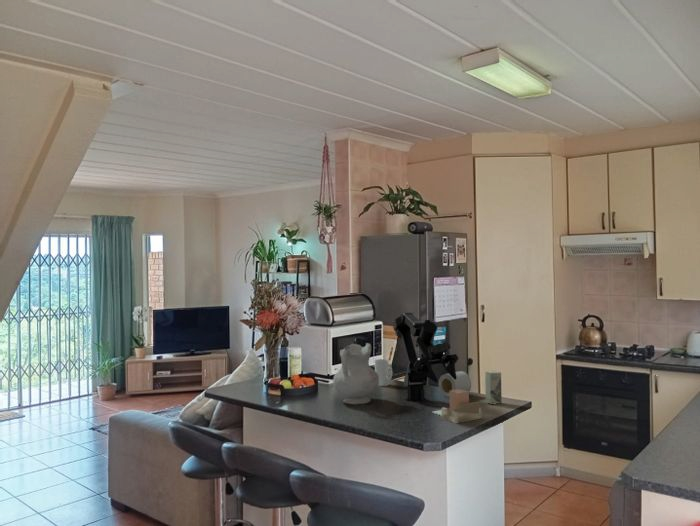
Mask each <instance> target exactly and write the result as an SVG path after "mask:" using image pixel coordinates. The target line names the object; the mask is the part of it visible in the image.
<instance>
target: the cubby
mask: <svg viewBox="0 0 700 526" xmlns="http://www.w3.org/2000/svg"><path fill="white" fill-rule="evenodd" d="M441 410H442V416H441V419H442V420H444V419H446V420H445V421H447V420H449V421H448V422H450V421H452V422H451V423H453V422H454V424H460V423H459V422H461V423H465V421H466V422H469V421H475V420H480V419H482V402H481V401H479V400H478V401H474V402H469V403H468V404H462V405H457V406H454V410H450V408H447V407H441Z"/></svg>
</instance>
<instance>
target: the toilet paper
mask: <svg viewBox="0 0 700 526" xmlns="http://www.w3.org/2000/svg"><path fill="white" fill-rule="evenodd" d="M455 372H456V377H457V378H456V380H455V379H454V378H452V376H451V375H450V374H449V373H445V374H444V373H443V374H442V375H440V376H439V378H438V382H437V383H438V384H437V385H438V390H439V392H440V394H441V395H442V396H443V395H444V396H443V397H445V396H449V391H450V390H456V389H462V390H466V391H469V392H470V391H471V390H472V379H471V378H470V376H469V374H468V373H466V372H465V371H455Z"/></svg>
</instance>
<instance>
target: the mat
mask: <svg viewBox="0 0 700 526" xmlns="http://www.w3.org/2000/svg"><path fill="white" fill-rule="evenodd" d="M431 413H432V414H433V413H434V415H436V414H437V415H436V416H439V415H440V416H439V417H442V409H439V410H434V411H432V412H431Z"/></svg>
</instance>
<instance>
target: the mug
mask: <svg viewBox="0 0 700 526" xmlns="http://www.w3.org/2000/svg"><path fill="white" fill-rule="evenodd" d="M374 371H376V372H377V374H378V377H379V385H378V387H387V386H389V385H390V383H389V381H391V380H392V377H393V368H392V363H389V359H386V358H378V359H374ZM389 371H390V373H389Z"/></svg>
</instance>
